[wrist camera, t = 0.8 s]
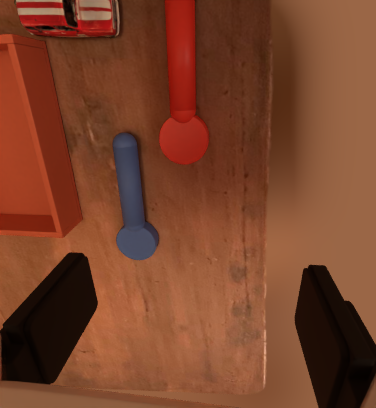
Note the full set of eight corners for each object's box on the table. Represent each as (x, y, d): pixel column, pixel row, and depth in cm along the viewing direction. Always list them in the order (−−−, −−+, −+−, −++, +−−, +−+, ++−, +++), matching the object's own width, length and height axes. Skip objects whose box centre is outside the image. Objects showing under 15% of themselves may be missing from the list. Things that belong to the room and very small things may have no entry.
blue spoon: (105, 130, 25) (95, 134, 23) (150, 130, 25) (143, 134, 23) (123, 252, 31) (116, 263, 29) (160, 254, 30) (155, 266, 28)
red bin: (-69, 46, 24) (-120, 40, 21) (45, 41, 23) (11, 33, 19) (-7, 215, 31) (-37, 232, 28) (82, 219, 30) (63, 238, 26)
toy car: (123, 40, 22) (108, 33, 19) (33, 38, 23) (6, 32, 20) (120, -15, 20) (102, -31, 18) (24, -14, 21) (-8, -29, 18)
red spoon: (152, -19, 20) (144, -30, 18) (210, -23, 20) (209, -35, 18) (163, 160, 26) (158, 166, 24) (209, 160, 25) (207, 167, 23)
